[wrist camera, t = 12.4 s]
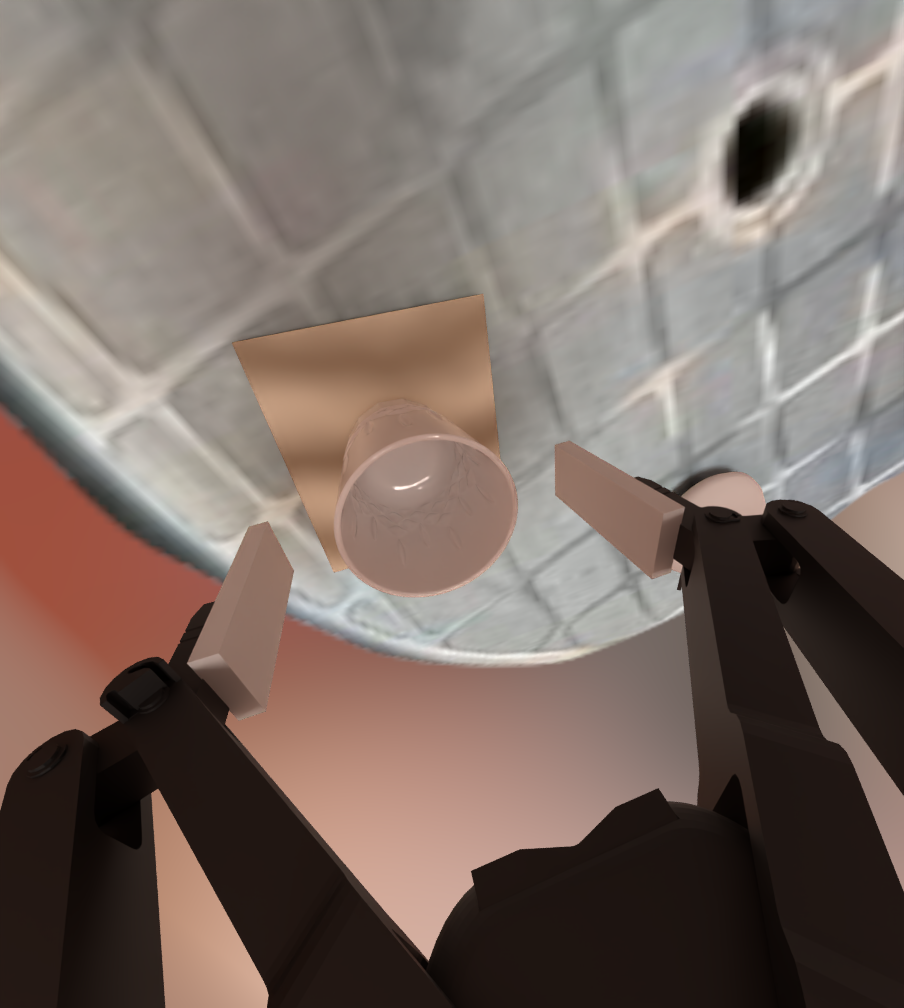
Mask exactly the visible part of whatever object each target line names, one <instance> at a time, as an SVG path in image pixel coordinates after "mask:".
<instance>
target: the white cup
mask: <svg viewBox="0 0 904 1008" xmlns="http://www.w3.org/2000/svg"><path fill="white" fill-rule="evenodd" d="M517 513H518V499H517V492H516V488H515V484H514V481H513V479H512V477H511V475H510V473H509V471H508V469H507V468H506V466H505V465H504V463H503V462H502V461H501V460H500V459H499V458H498V457H497V456H496V455H495V454H494V453H493V452H492V451H490V450H489V449H488V448H486V447H485V446H484V445H482V444H481V443H480V442H478V441H477V440H476V439H474V438H473V437H472V436H470V435H469V434H468V433H467V432H465V431H464V430H463V429H461V428H460V427H459V426H457V425H456V424H454V423H453V422H451V421H450V420H448V419H447V418H445V417H444V416H442V415H441V414H439V413H437V412H435V411H433V410H431V409H430V408H429V407H428V406H426V405H424V404H421V403H417V402H414V401H410V400H407V399H403V398H401V399H395V400H389V401H384V402H378V403H377V404H375V405H374V406H373V407H371V408H370V409H369V410H367V411H366V412H365V413H363V414H362V415H361V416H359V417H358V419H357V421H356V423H355V425H354V427H353V429H352V431H351V434H350V436H349V438H348V443H347V447H346V450H345V453H344V458H343V463H342V468H341V474H340V481H339V488H338V495H337V502H336V508H335V515H334V535H335V541H336V544H337V548H338V550H339V553H340V555H341V557H342V559H343V560H344V562H345V564H346V565H347V566H348V568H349V569H350V570H351V571H352V572H353V573H354V574H355V575H356V576H357V577H358V578H359V579H360V580H362V581H363V582H364V583H366V584H367V585H369V586H371V587H373V588H375V589H377V590H379V591H382V592H385V593H388V594H392V595H396V596H403V597H427V596H434V595H439V594H443V593H446V592H449V591H452V590H455V589H457V588H459V587H461V586H463V585H465V584H467V583H469V582H471V581H472V580H474V579H475V578H477V577H478V576H480V575H481V574H482V573H484V572H485V571H486V570H487V569H488V568H489V567H490V566H491V565H492V564H493V563H494V562H495V561H496V560H497V559H498V557H499V556H500V555H501V553H502V552H503V551H504V549H505V547H506V546H507V544H508V542H509V540H510V538H511V536H512V533H513V531H514V528H515V524H516V519H517Z"/></svg>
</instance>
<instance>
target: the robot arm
mask: <svg viewBox="0 0 904 1008" xmlns="http://www.w3.org/2000/svg"><path fill="white" fill-rule="evenodd" d="M555 495H556V496H557V497H558V498H559V499H560V500H562V501H563V502H564V503H565V504H566V505H567V506H569V507H570V508H571V509H572V510H573V511H574V512H575V513H577V514H578V515H579V516H580V517H581V518H582V519H583V520H585V521H586V522H587V523H588V524H589V525H590V526H591V527H593V528H594V529H595V530H596V531H597V532H598V533H599V534H601V535H602V536H603V537H604V538H605V539H606V540H608V541H609V542H610V543H611V544H612V545H613V546H614V547H616V548H617V549H618V550H619V551H620V552H621V553H622V554H624V555H625V556H626V557H627V558H628V559H629V560H630V561H632V562H633V563H634V564H635V565H636V566H637V567H638V568H640V569H641V570H642V571H643V572H644V573H645V574H647V575H648V576H649V577H650V578H651V579H654V578H657V577H659V576H662V575H665V574H668V573H671V569H672V564H673V560H674V559H675V560H676V561H677V562H679V563H680V564H681V565H683V566H682V570H681V575H680V579H679V583H678V587H677V590H681V588H682V593H683V603H684V613H685V623H686V634H687V645H688V655H689V666H690V676H691V687H692V697H693V708H694V718H695V729H696V739H697V749H698V760H699V787H698V799H697V801H698V802H697V806H696V805H692V804H687V803H681V802H670V801H669V802H667V801H666V799H665V798H664V796H663V794H662V793H661V791H660V790H659V788H658V789H655V790H653V791H651V792H649V793H647V794H644V795H642V796H640V797H637V798H635V799H633V800H631V801H628V802H626V803H624V804H621V805H619V806H617V807H615V808H614V809H613V810H612V811H611V812H610V813H609V814H608V815H607V816H606V817H605V818H604V819H603V820H602V821H601V822H600V823H599V824H598V825H597V826H596V827H595V828H594V829H593V830H592V831H591V832H590V833H589V834H588V835H587V836H586V837H585V838H584V839H583V840H582V841H581V842H580V843H579V844H577V845H575V846H571V847H553V848H536V849H520V850H517V851H515V852H513V853H511V854H508V855H506V856H504V857H502V858H500V859H497V860H495V861H493V862H490V863H488V864H486V865H484V866H481V867H479V868H477V869H474V870H472V871H471V873H472V877H473V882H474V886H473V887H472V888H471V889H469V891H467V892H466V893H465V894H464V896H463V897H462V898H461V899H460V901H459V902H458V903H457V904H456V906H455V907H454V908H453V910H452V912H451V913H450V915H449V917H448V918H447V920H446V921H445V924H444V925H443V928H442V930H441V932H440V934H439V936H438V938H437V940H436V943H435V946H434V949H433V951H432V954H431V957H430V959H429V961H428V960H427V959H426V957H425V956H424V955H423V954H422V953H421V952H420V950H419V949H418V948H417V947H416V946H415V945H414V944H413V942H412V941H411V940H410V939H409V938H408V937H407V936H406V934H405V933H404V932H403V931H402V930H401V929H400V928H399V926H398V925H397V924H396V923H395V922H394V921H393V920H392V919H391V918H390V917H389V915H387V913H386V912H385V911H384V910H383V909H382V907H381V906H380V905H379V904H378V903H377V902H376V901H375V899H374V898H373V897H372V896H371V895H370V893H369V892H368V891H367V890H366V889H365V888H364V886H363V885H362V884H361V883H360V882H359V880H358V879H357V878H356V877H355V876H354V875H353V873H352V872H351V871H350V870H349V869H348V868H347V867H346V865H345V864H344V863H343V862H342V861H341V859H340V858H339V857H338V856H337V855H336V854H335V852H334V851H333V850H332V849H331V848H330V846H329V845H328V844H327V843H326V842H325V841H324V839H323V838H322V837H321V836H320V835H319V834H318V832H317V831H316V830H315V829H314V828H313V826H312V825H311V824H310V823H309V822H308V821H307V820H306V818H305V817H304V816H303V815H302V814H301V812H300V811H299V810H298V809H297V808H296V807H295V805H294V804H293V803H292V802H291V801H290V799H289V798H288V797H287V796H286V795H285V794H284V792H283V791H282V790H281V789H280V788H279V787H278V785H277V784H276V783H275V782H274V781H273V780H272V778H270V776H269V775H268V774H267V772H266V771H265V770H264V769H263V768H262V767H261V765H260V764H259V763H258V762H257V761H256V760H255V758H254V757H253V756H252V755H251V754H250V753H249V751H248V750H247V749H246V748H245V747H244V746H243V745H242V743H241V742H240V741H239V740H238V739H237V737H236V736H235V735H234V734H233V733H232V731H231V730H230V729H229V728H228V727H227V726H226V725H225V722H226V719H227V715H228V712H229V710H230V712H231V713H232V714H233V715H234V716H235V717H236V718H237V719H238V720H242V719H245V718H248V717H251V716H254V715H257V714H260V713H263V712H265V711H266V707H267V702H268V697H269V692H270V687H271V682H272V677H273V672H274V667H275V662H276V657H277V652H278V647H279V642H280V637H281V632H282V628H283V623H284V618H285V613H286V608H287V603H288V598H289V593H290V588H291V583H292V578H293V573H294V570H293V568H292V566H291V564H290V562H289V561H288V559H287V557H286V555H285V553H284V551H283V549H282V547H281V545H280V543H279V542H278V540H277V538H276V536H275V534H274V532H273V530H272V528H271V526H270V524H269V523H268V522H264V523H260V524H257V525H253V526H249V527H248V530H247V532H246V534H245V536H244V539H243V541H242V543H241V545H240V547H239V550H238V552H237V554H236V556H235V558H234V561H233V563H232V565H231V567H230V569H229V572H228V574H227V576H226V578H225V580H224V583H223V585H222V587H221V589H220V592H219V594H218V596H217V598H216V600H215V601H214V602H211V603H207V604H204V605H203V606H202V607H201V608H200V609H199V610H198V611H197V613H196V614H195V615H194V616H193V617H192V618H191V620H190V623H189V624H188V626H187V628H186V630H185V631H186V633H184V634H183V636H182V638H181V640H180V644H178V647H177V648H176V650H175V652H174V654H173V656H172V658H171V660H170V662H169V664H167V663H166V662H165V661H164V659H161V658H159V657H151V658H147V659H144V660H142V661H139V662H137V663H135V664H134V665H132V666H130V667H128V668H127V669H125V670H124V671H123V672H121V673H120V674H119V675H118V676H116V677H115V678H114V679H113V680H112V681H111V682H110V684H109V685H108V686H107V687H106V688H105V690H104V691H103V693H102V695H101V697H100V706H101V707H103V708H104V709H105V710H106V711H108V712H109V713H110V714H111V715H113V716H114V717H115V718H116V719H118V720H119V721H117V722H115V723H114V724H112V725H110V726H108V727H106V728H105V729H103V730H101V731H99V732H98V733H96V734H94V735H92V736H90V737H89V736H88V735H87V734H85V733H84V732H83V731H80V730H76V729H74V730H69V731H65V732H63V733H61V734H59V735H57V736H54V737H52V738H51V739H49V740H48V741H46V742H45V743H43V744H42V745H41V746H39V747H38V748H37V749H35V750H34V751H33V752H32V753H31V754H29V755H28V757H27V758H25V759H24V760H23V762H22V763H21V764H20V765H19V767H18V768H17V769H16V770H15V772H14V773H13V774H12V776H11V778H10V780H9V782H8V784H7V788H6V792H5V795H4V799H3V803H2V806H1V810H0V1008H165V996H164V982H163V966H162V951H161V935H160V922H159V921H160V920H159V906H158V890H157V875H156V860H155V844H154V830H153V815H152V799H151V793H152V792H153V791H155V790H156V789H159V790H160V792H161V794H162V796H163V798H164V800H165V801H166V803H167V805H168V807H169V809H170V811H171V812H172V814H173V816H174V818H175V819H176V821H177V823H178V825H179V827H180V829H181V831H182V833H183V834H184V836H185V838H186V840H187V841H188V843H189V845H190V847H191V849H192V851H193V853H194V854H195V856H196V858H197V860H198V862H199V864H200V865H201V867H202V869H203V871H204V873H205V875H206V876H207V878H208V880H209V882H210V884H211V885H212V887H213V889H214V891H215V893H216V895H217V897H218V898H219V900H220V902H221V904H222V905H223V907H224V909H225V911H226V913H227V915H228V917H229V918H230V920H231V922H232V924H233V926H234V928H235V929H236V931H237V933H238V935H239V937H240V938H241V940H242V942H243V944H244V946H245V948H246V950H247V951H248V953H249V955H250V957H251V959H252V961H253V962H254V964H255V966H256V968H257V970H258V971H259V973H260V975H261V977H262V979H263V981H264V983H265V985H266V987H267V991H268V994H269V997H268V1004H267V1008H904V891H903V889H902V886H901V884H900V881H899V879H898V876H897V874H896V871H895V869H894V866H893V864H892V862H891V859H890V856H889V854H888V851H887V849H886V846H885V844H884V841H883V839H882V836H881V834H880V831H879V829H878V826H877V824H876V821H875V818H874V816H873V814H872V811H871V808H870V806H869V803H868V801H867V798H866V796H865V793H864V791H863V788H862V786H861V783H860V781H859V778H858V776H857V773H856V771H855V768H854V766H853V764H852V762H851V760H850V758H849V756H848V754H847V752H846V751H845V750H844V749H843V748H842V747H841V746H840V745H839V744H837V743H834V742H831V741H828V740H826V738H824V737H823V735H822V733H821V730H820V728H819V725H818V723H817V720H816V717H815V714H814V712H813V709H812V706H811V703H810V700H809V698H808V695H807V692H806V689H805V686H804V684H803V681H802V678H801V675H800V672H799V669H798V667H797V664H796V661H795V658H794V655H793V653H792V650H791V647H790V644H789V641H788V639H787V636H786V633H785V630H784V628H785V629H786V631H787V632H788V634H789V635H790V636H791V638H792V639H793V641H794V642H795V643H796V645H797V646H798V648H799V649H800V650H801V652H802V653H803V655H804V656H805V658H806V659H807V660H808V662H809V663H810V665H811V666H812V667H813V669H814V670H815V671H816V673H817V674H818V676H819V677H820V679H821V680H822V681H823V683H824V684H825V686H826V687H827V688H828V690H829V691H830V693H831V694H832V696H833V697H834V698H835V700H836V701H837V703H838V704H839V705H840V707H841V708H842V710H843V711H844V712H845V714H846V715H847V717H848V718H849V719H850V721H851V722H852V724H853V725H854V727H855V728H856V729H857V731H858V732H859V733H860V735H861V736H862V738H863V739H864V741H865V742H866V743H867V745H868V746H869V747H870V749H871V750H872V752H873V753H874V754H875V756H876V757H877V759H878V760H879V762H880V763H881V765H882V766H883V767H884V769H885V770H886V772H887V773H888V774H889V776H890V777H891V779H892V780H893V781H894V783H895V784H896V786H897V787H898V788H899V790H900V791H901V793H902V794H903V795H904V580H903V579H902V578H900V577H899V576H898V575H897V574H896V573H894V572H893V571H892V570H891V569H890V568H888V567H887V566H886V565H885V564H884V563H882V562H881V561H880V560H879V559H878V558H876V557H875V556H874V555H873V554H871V553H870V552H869V551H868V550H866V549H865V548H864V547H863V546H862V545H860V544H859V543H858V542H857V541H856V540H854V539H853V538H852V537H851V536H849V535H848V534H847V533H846V532H845V531H843V530H842V529H841V528H840V527H839V526H837V525H836V524H835V523H834V522H833V521H831V520H830V519H829V518H828V517H826V516H825V515H824V514H823V513H822V512H820V511H819V510H818V509H816V508H814V507H813V506H811V505H808V504H805V503H803V502H800V501H795V500H774V501H771V502H769V503H767V504H766V506H765V509H764V512H763V514H762V515H749V516H742V515H741V514H739V513H738V512H736V511H734V510H731V509H728V508H725V507H719V506H706V507H699V506H697V505H695V504H693V503H692V502H690V501H688V500H686V499H684V498H683V497H681V496H679V495H677V494H675V493H673V492H672V493H671V491H670V490H668V489H666V488H662V486H661V485H659V484H657V483H655V482H653V481H652V480H648V479H645V478H641V477H634V478H633V477H632V476H630V475H628V474H626V473H625V472H623V471H621V470H619V469H618V468H616V467H614V466H613V465H611V464H609V463H607V462H606V461H604V460H602V459H600V458H599V457H597V456H595V455H593V454H592V453H590V452H588V451H586V450H585V449H583V448H581V447H579V446H578V445H576V444H574V443H572V442H571V441H567V442H563V443H560V444H556V445H555ZM799 566H800V568H799Z"/></svg>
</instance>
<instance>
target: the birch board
mask: <svg viewBox="0 0 904 1008" xmlns="http://www.w3.org/2000/svg"><path fill="white" fill-rule="evenodd" d="M232 344H233V346H234V349H235V351H236V353H237V355H238V358H239V360H240V362H241V364H242V367H243V369H244V371H245V373H246V376H247V378H248V380H249V382H250V385H251V387H252V389H253V391H254V394H255V396H256V398H257V400H258V403H259V405H260V407H261V409H262V412H263V414H264V416H265V418H266V421H267V423H268V425H269V427H270V430H271V432H272V434H273V436H274V439H275V441H276V443H277V445H278V448H279V450H280V452H281V454H282V457H283V459H284V461H285V463H286V466H287V468H288V470H289V472H290V475H291V477H292V479H293V481H294V484H295V486H296V488H297V490H298V493H299V495H300V497H301V499H302V502H303V504H304V506H305V508H306V511H307V513H308V515H309V517H310V520H311V522H312V524H313V526H314V529H315V531H316V533H317V535H318V538H319V540H320V542H321V544H322V547H323V549H324V551H325V553H326V556H327V558H328V560H329V562H330V565H331V567H332V569H333V571H334V572H337V571H341V570H344V569H347V568H348V566H347V565H346V564H345V562H344V560H343V559H342V557H341V555H340V553H339V550H338V548H337V544H336V541H335V535H334V515H335V508H336V502H337V495H338V488H339V481H340V474H341V468H342V463H343V458H344V453H345V450H346V447H347V443H348V438H349V436H350V434H351V431H352V429H353V427H354V425H355V423H356V421H357V419H358V417H359V416H361V415H362V414H363V413H365V412H366V411H367V410H369V409H370V408H371V407H373V406H374V405H375V404H377V403H378V402H384V401H389V400H395V399H401V398H403V399H407V400H410V401H414V402H417V403H421V404H424V405H426V406H428V407H429V408H430V409H431V410H433V411H435V412H437V413H439V414H441V415H442V416H444V417H445V418H447V419H448V420H450V421H451V422H453V423H454V424H456V425H457V426H459V427H460V428H461V429H463V430H464V431H465V432H467V433H468V434H469V435H470V436H472V437H473V438H474V439H476V440H477V441H478V442H480V443H481V444H482V445H484V446H485V447H486V448H488V449H489V450H490V451H492V452H493V453H494V454H495V455H496V456H497V457H498V458H499V459H500V452H499V442H498V432H497V423H496V413H495V403H494V394H493V384H492V374H491V364H490V355H489V345H488V335H487V326H486V316H485V306H484V296H483V294H480V295H475V296H469V297H464V298H459V299H454V300H449V301H444V302H438V303H433V304H428V305H423V306H418V307H413V308H407V309H402V310H397V311H392V312H387V313H382V314H376V315H371V316H366V317H361V318H356V319H351V320H345V321H340V322H335V323H330V324H325V325H320V326H314V327H309V328H304V329H299V330H294V331H289V332H283V333H278V334H273V335H268V336H263V337H258V338H252V339H247V340H242V341H237V342H232Z"/></svg>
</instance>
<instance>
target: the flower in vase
mask: <svg viewBox="0 0 904 1008" xmlns="http://www.w3.org/2000/svg"><path fill="white" fill-rule="evenodd" d="M681 497H683V498H684V499H686V500H688V501H690V502H692V503H693V504H695V505H697V506H699V507H706V506H719V507H725V508H728V509H731V510H734V511H736V512H738V513H739V514H741V515H742V516H749V515H762V514H763V512H764V509H765V506H766V503H765V499H764V495H763V492H762V489H761V487H760V485H759V484H758V483H757V482H756V481H755V480H754V479H753V478H752V477H750V476H749V475H747V474H745V473H742V472H728V473H722V474H717V475H714V476H711V477H708V478H706V479H704V480H702V481H700V482H699V483H697V484H696V485H694V486H693V487H691V488H690V489H689V490H688V491H686V492H685V493H684V494H683V495H682V496H681ZM682 566H683V565H681V564H680V563H679V562H677V561H676V560H675V559H674V560H673V564H672V569H671V570H674V571H677V572H680V573H681V570H682ZM799 568H800V566H799Z"/></svg>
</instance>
